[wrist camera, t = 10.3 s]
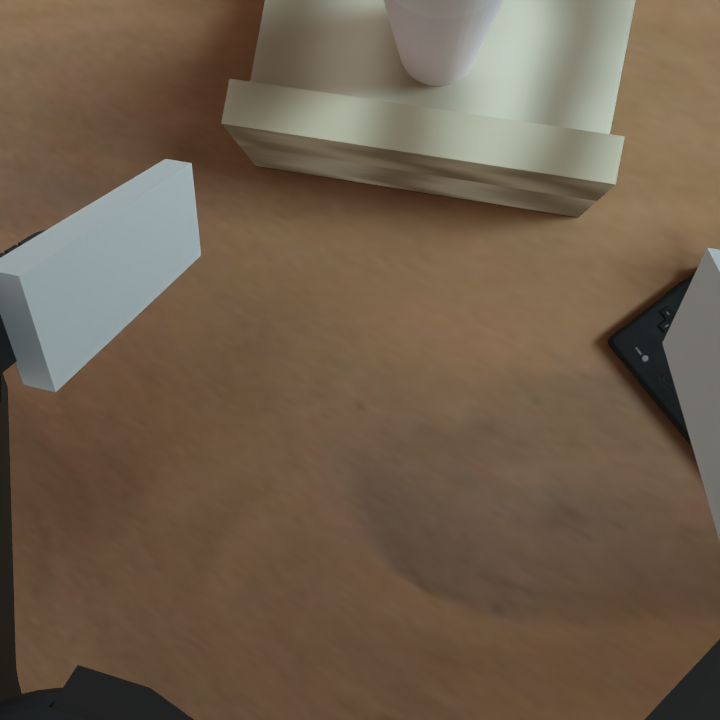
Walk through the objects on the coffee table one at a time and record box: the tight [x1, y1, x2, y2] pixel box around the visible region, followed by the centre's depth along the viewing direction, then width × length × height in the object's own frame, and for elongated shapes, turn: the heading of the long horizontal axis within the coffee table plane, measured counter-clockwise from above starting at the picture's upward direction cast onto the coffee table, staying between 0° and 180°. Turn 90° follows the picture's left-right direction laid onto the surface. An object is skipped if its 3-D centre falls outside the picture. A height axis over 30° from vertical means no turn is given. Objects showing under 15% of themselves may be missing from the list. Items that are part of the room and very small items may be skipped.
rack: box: [221, 0, 635, 217], centre depth 28 cm, size 17×12×6 cm
